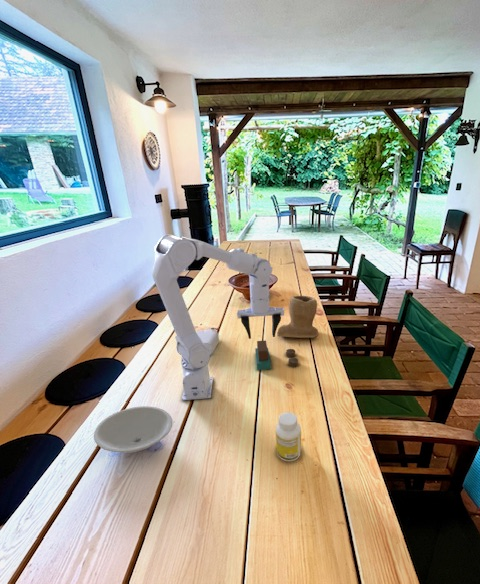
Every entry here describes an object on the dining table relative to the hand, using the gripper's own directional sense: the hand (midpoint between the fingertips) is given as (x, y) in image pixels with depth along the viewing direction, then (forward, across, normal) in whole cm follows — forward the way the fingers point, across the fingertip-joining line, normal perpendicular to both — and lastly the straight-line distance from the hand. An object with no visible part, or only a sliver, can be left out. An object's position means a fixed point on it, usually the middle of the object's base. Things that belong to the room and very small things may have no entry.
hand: (261, 336), depth 103 cm
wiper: (+9, 0, 0) cm, 9 cm away
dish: (+10, +32, +32) cm, 46 cm away
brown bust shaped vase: (+10, -15, -18) cm, 25 cm away
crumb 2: (+9, -10, +3) cm, 14 cm away
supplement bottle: (+10, -3, +39) cm, 40 cm away
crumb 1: (+9, -10, -3) cm, 14 cm away
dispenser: (+7, +20, -15) cm, 26 cm away
